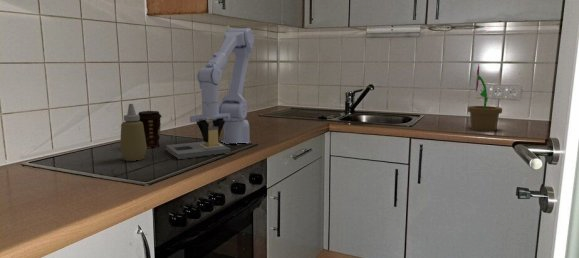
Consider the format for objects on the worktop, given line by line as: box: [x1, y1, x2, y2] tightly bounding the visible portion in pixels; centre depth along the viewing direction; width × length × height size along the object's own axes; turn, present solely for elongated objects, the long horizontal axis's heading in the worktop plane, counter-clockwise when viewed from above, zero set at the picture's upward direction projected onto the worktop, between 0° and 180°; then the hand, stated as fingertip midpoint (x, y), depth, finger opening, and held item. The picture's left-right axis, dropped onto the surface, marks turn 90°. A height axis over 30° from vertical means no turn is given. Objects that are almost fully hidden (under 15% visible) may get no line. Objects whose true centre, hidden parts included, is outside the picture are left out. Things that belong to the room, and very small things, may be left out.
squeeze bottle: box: [119, 103, 148, 162], centre depth 133 cm, size 8×8×18 cm
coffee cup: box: [137, 110, 163, 149], centre depth 153 cm, size 9×8×13 cm
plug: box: [203, 124, 219, 147], centre depth 147 cm, size 4×4×8 cm
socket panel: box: [165, 141, 232, 159], centre depth 145 cm, size 18×16×2 cm
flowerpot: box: [467, 63, 503, 132], centre depth 191 cm, size 14×14×30 cm
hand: (211, 140), depth 147 cm, fingers closed on plug, 4 cm apart
